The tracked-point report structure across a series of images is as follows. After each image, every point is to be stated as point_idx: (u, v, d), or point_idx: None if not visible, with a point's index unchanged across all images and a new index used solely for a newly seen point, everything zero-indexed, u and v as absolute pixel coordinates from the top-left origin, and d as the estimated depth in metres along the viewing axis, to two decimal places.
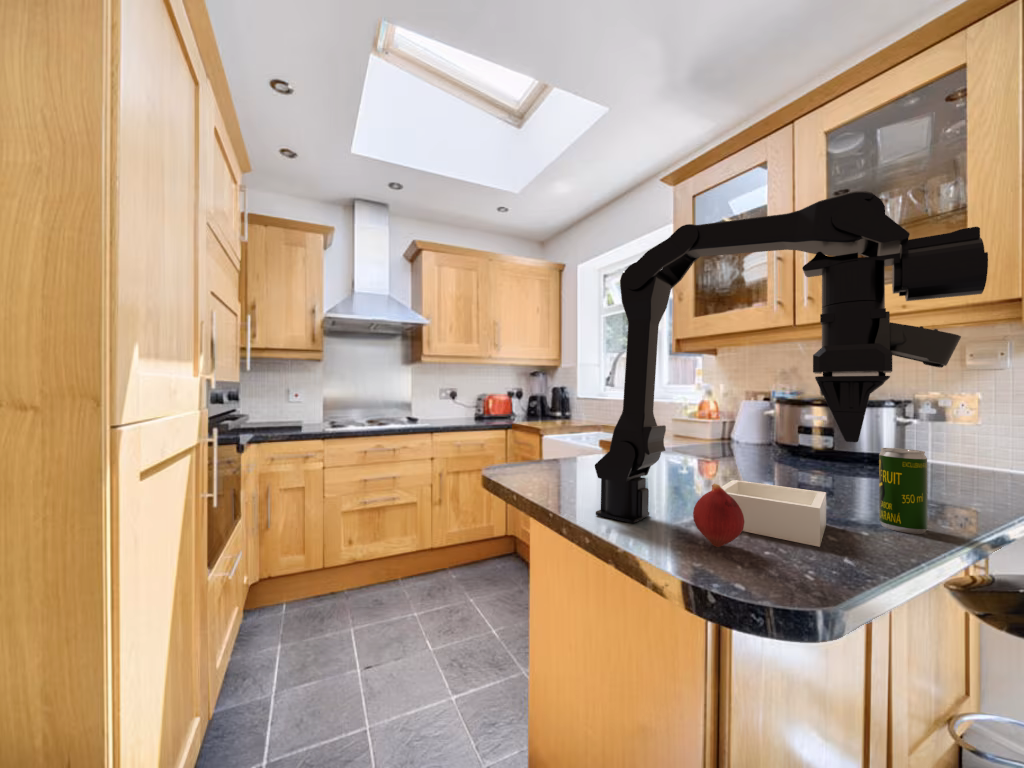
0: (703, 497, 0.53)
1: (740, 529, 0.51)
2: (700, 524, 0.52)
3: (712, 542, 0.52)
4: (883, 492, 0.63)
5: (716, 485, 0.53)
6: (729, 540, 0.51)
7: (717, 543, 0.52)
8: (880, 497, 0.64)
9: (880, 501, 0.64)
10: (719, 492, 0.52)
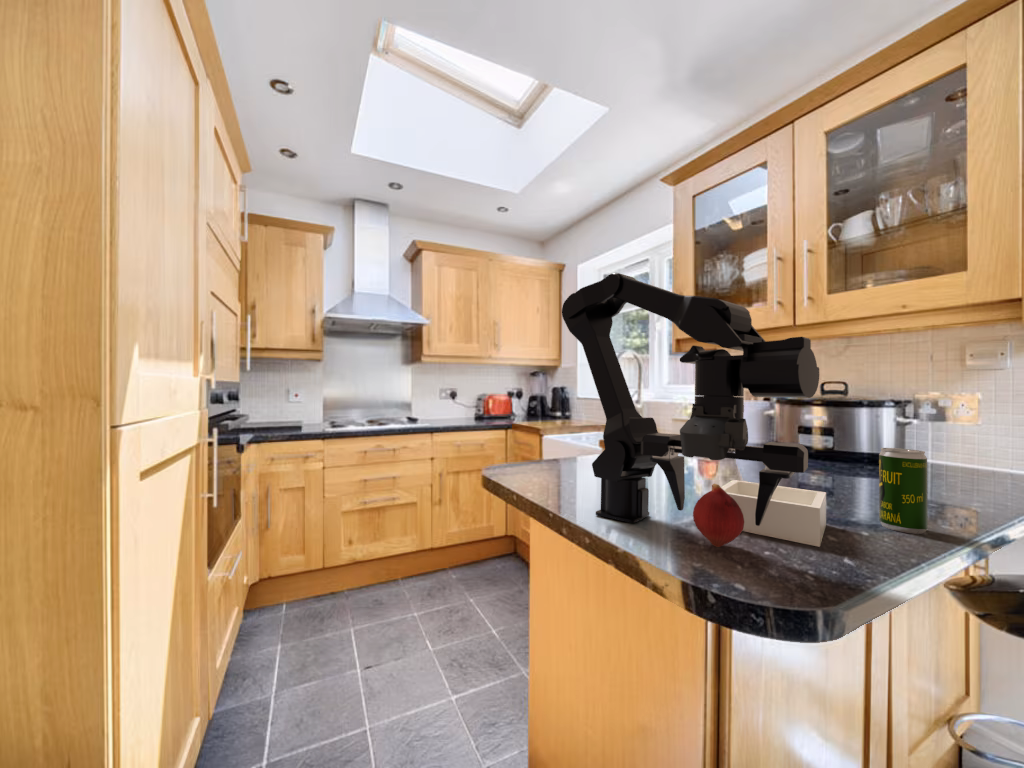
0: (703, 497, 0.53)
1: (740, 529, 0.51)
2: (700, 524, 0.52)
3: (712, 542, 0.52)
4: (883, 492, 0.63)
5: (716, 485, 0.53)
6: (729, 540, 0.51)
7: (717, 543, 0.52)
8: (880, 497, 0.64)
9: (880, 501, 0.64)
10: (719, 492, 0.52)
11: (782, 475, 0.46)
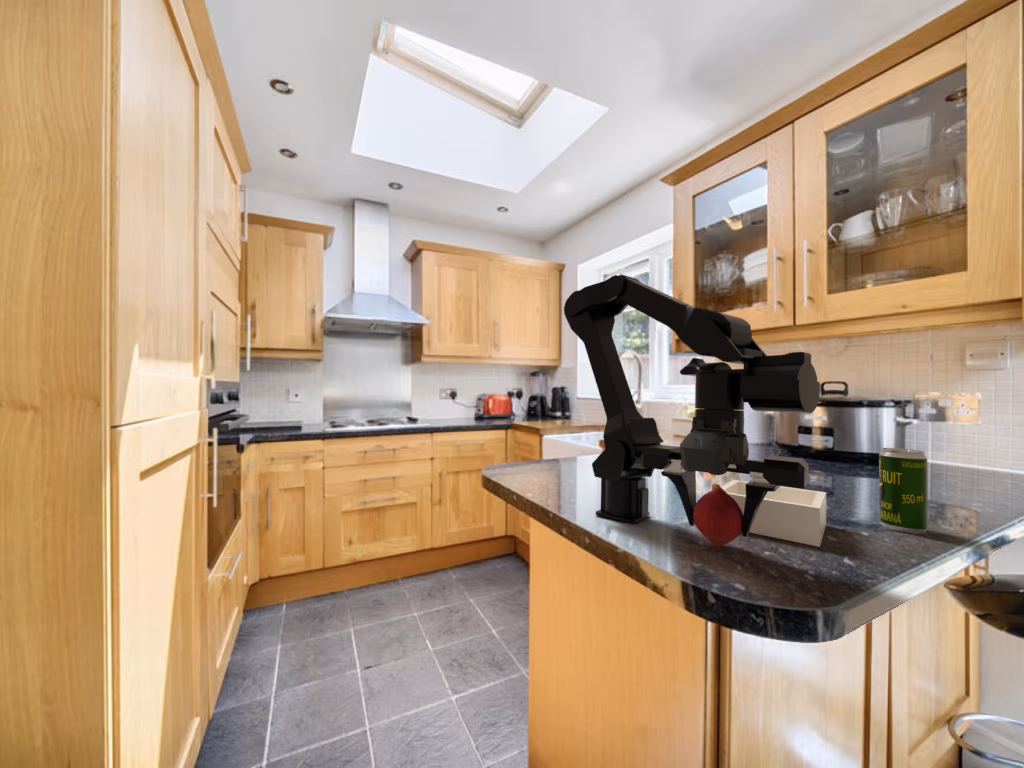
0: (703, 497, 0.53)
1: (740, 529, 0.51)
2: (700, 524, 0.52)
3: (712, 542, 0.52)
4: (883, 492, 0.63)
5: (716, 485, 0.53)
6: (729, 540, 0.51)
7: (717, 543, 0.52)
8: (880, 497, 0.64)
9: (880, 501, 0.64)
10: (719, 492, 0.52)
11: (767, 488, 0.47)
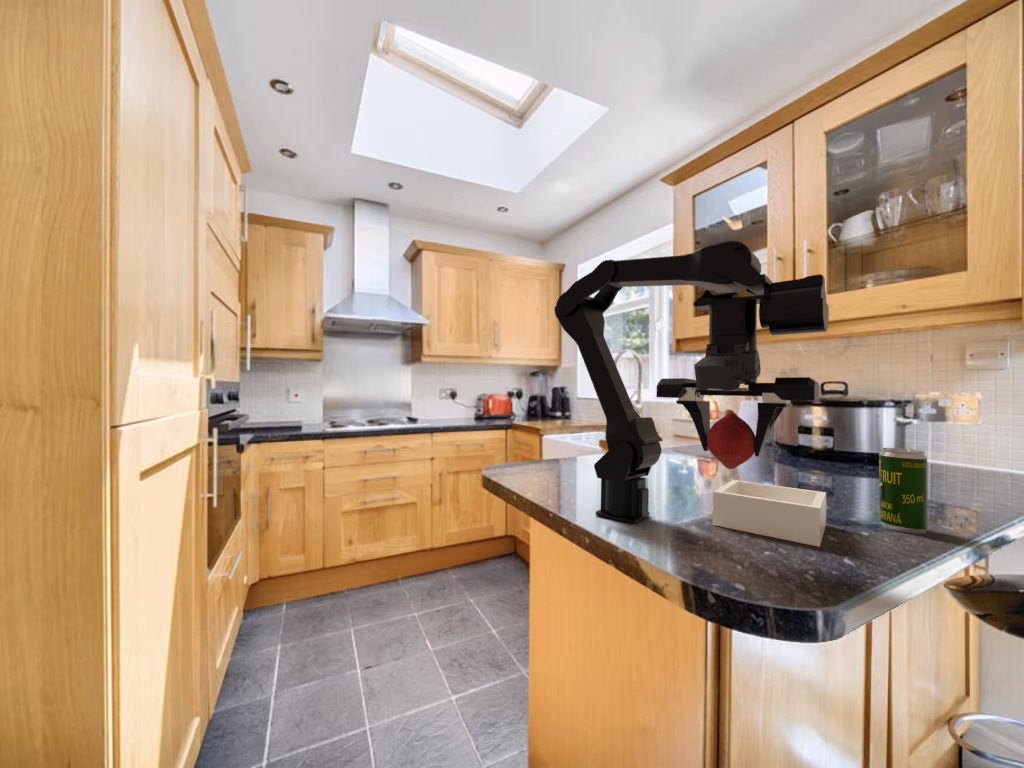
0: (716, 422, 0.56)
1: (752, 449, 0.53)
2: (714, 446, 0.54)
3: (725, 464, 0.55)
4: (883, 492, 0.63)
5: (729, 410, 0.55)
6: (742, 460, 0.53)
7: (730, 464, 0.54)
8: (880, 497, 0.64)
9: (880, 501, 0.64)
10: (732, 416, 0.55)
11: (779, 404, 0.49)
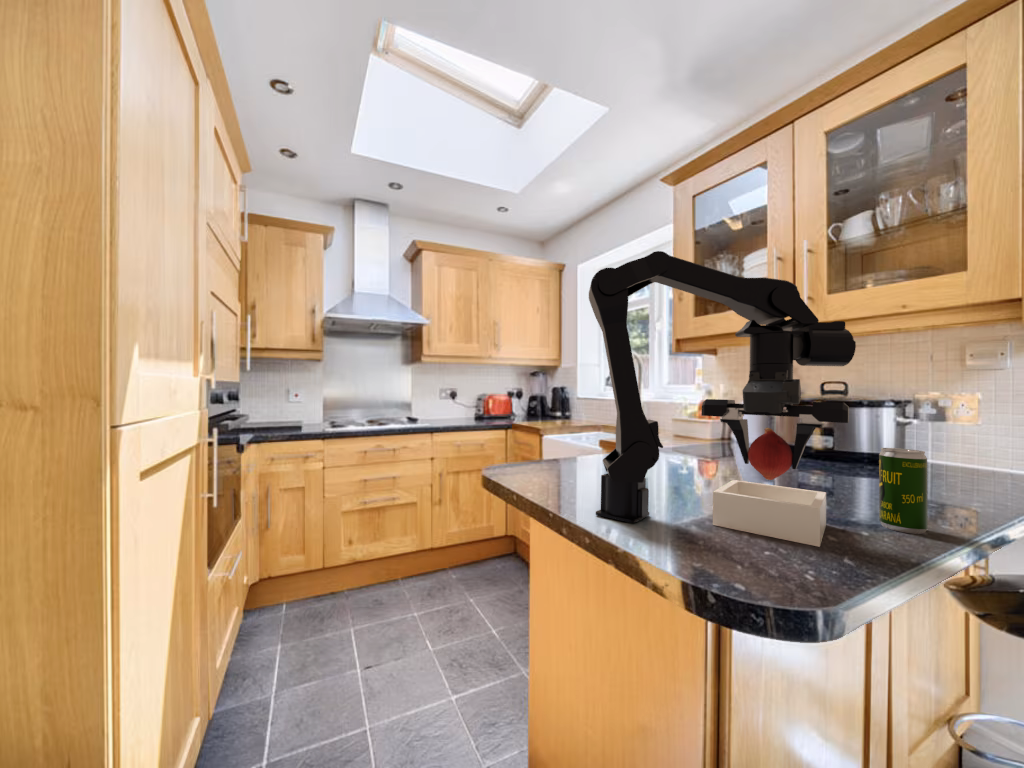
0: (757, 439, 0.63)
1: (790, 463, 0.61)
2: (756, 460, 0.62)
3: (765, 476, 0.62)
4: (883, 492, 0.63)
5: (768, 428, 0.63)
6: (781, 472, 0.61)
7: (770, 476, 0.62)
8: (880, 497, 0.64)
9: (880, 501, 0.64)
10: (771, 434, 0.62)
11: (816, 425, 0.57)
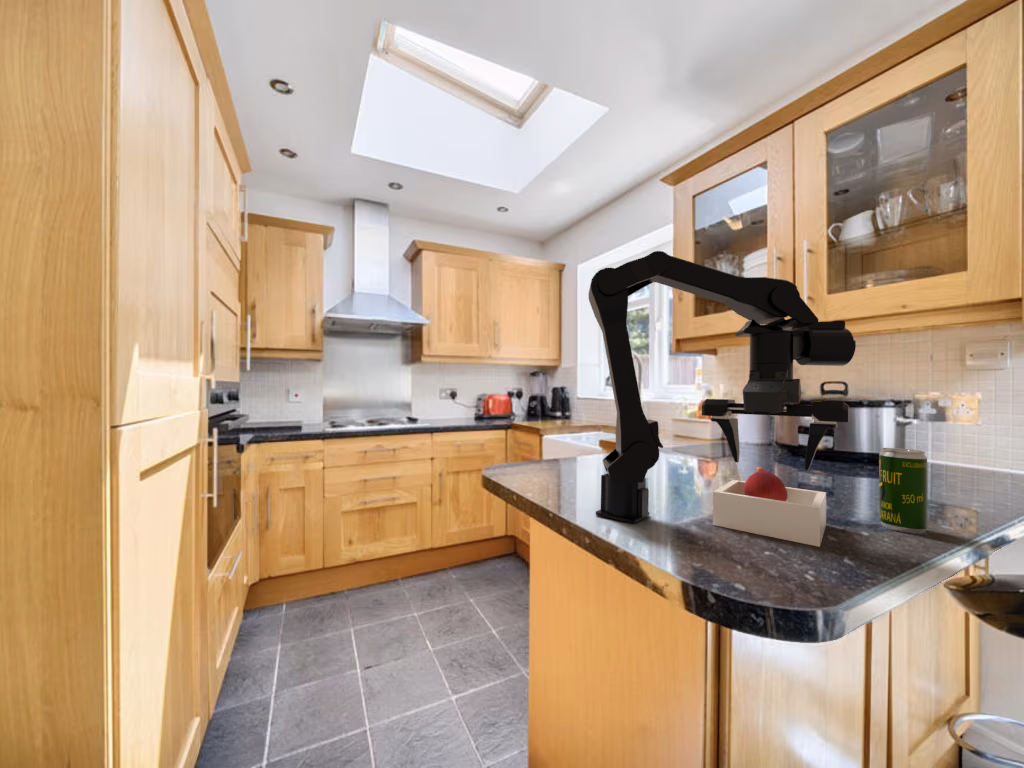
0: None
1: (785, 493, 0.63)
2: (751, 489, 0.65)
3: None
4: (883, 492, 0.63)
5: (759, 467, 0.68)
6: None
7: None
8: (880, 497, 0.64)
9: (880, 501, 0.64)
10: (762, 470, 0.67)
11: (830, 425, 0.56)
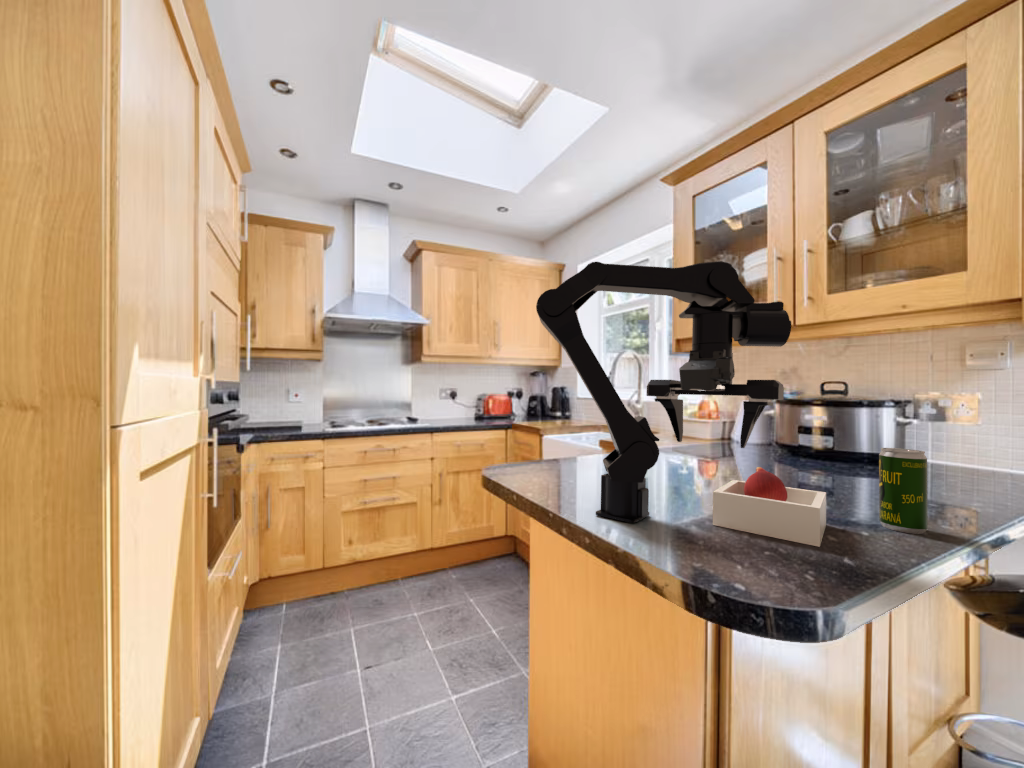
0: None
1: (785, 492, 0.63)
2: (751, 489, 0.65)
3: None
4: (883, 492, 0.63)
5: (759, 467, 0.68)
6: None
7: None
8: (880, 497, 0.64)
9: (880, 501, 0.64)
10: (762, 470, 0.67)
11: (761, 402, 0.57)
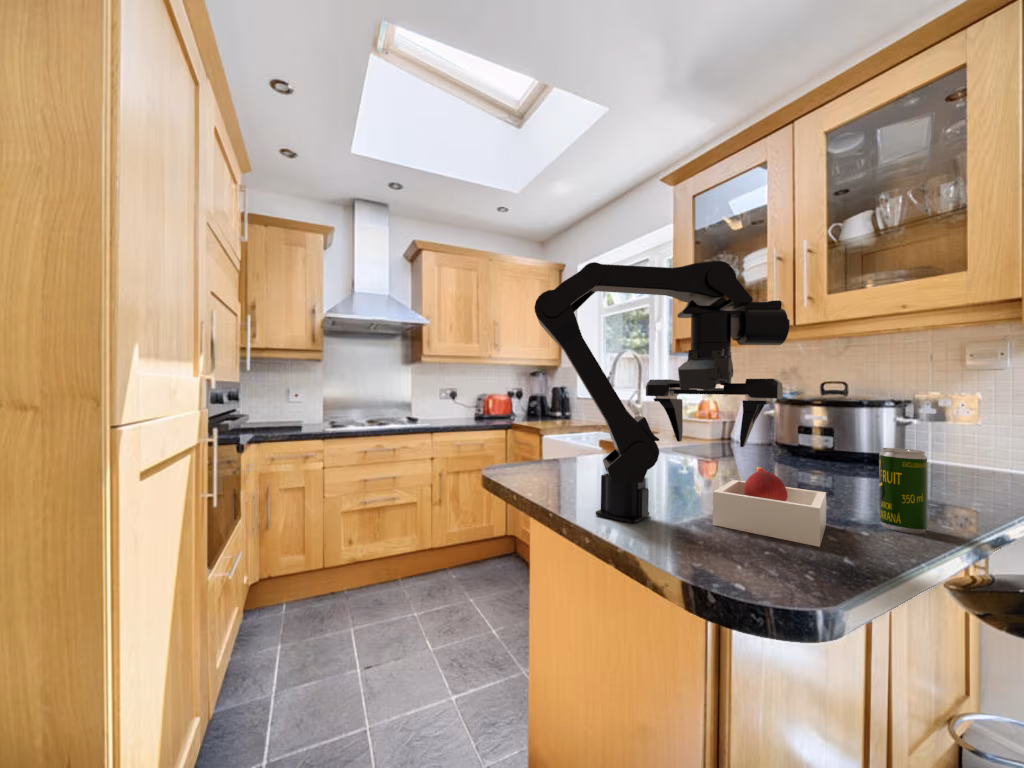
0: None
1: (785, 492, 0.63)
2: (751, 489, 0.65)
3: None
4: (883, 492, 0.63)
5: (759, 467, 0.68)
6: None
7: None
8: (880, 497, 0.64)
9: (880, 501, 0.64)
10: (762, 470, 0.67)
11: (760, 401, 0.57)
